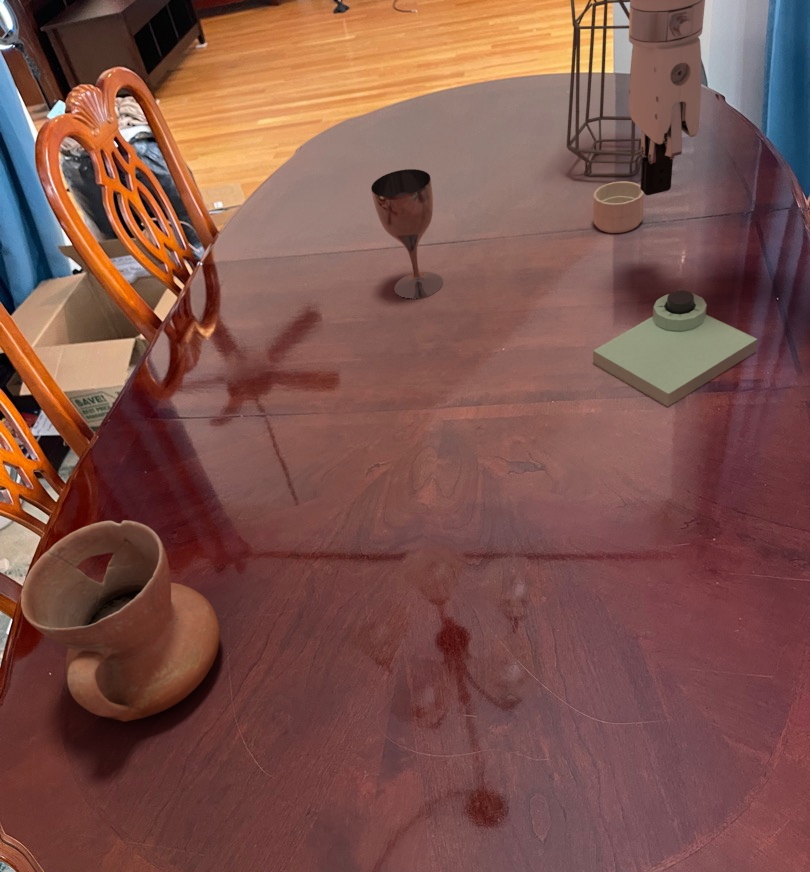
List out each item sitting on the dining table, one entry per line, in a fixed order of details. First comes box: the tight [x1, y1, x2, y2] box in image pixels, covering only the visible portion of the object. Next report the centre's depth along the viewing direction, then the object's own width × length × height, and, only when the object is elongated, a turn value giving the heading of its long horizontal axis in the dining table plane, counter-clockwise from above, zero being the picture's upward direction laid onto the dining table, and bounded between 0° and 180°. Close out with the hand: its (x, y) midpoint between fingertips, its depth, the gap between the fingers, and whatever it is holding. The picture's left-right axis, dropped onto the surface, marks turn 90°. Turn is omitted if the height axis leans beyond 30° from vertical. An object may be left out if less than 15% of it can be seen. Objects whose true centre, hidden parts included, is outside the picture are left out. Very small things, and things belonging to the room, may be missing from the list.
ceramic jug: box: [20, 519, 221, 722], centre depth 73 cm, size 18×14×14 cm
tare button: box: [667, 289, 694, 314], centre depth 97 cm, size 3×3×2 cm
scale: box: [592, 292, 758, 408], centre depth 96 cm, size 14×12×4 cm
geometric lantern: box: [566, 0, 645, 177], centre depth 120 cm, size 16×16×35 cm
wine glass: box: [370, 168, 444, 300], centre depth 112 cm, size 8×8×15 cm
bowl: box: [593, 180, 645, 234], centre depth 119 cm, size 7×7×4 cm
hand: (655, 190), depth 99 cm, fingers closed
